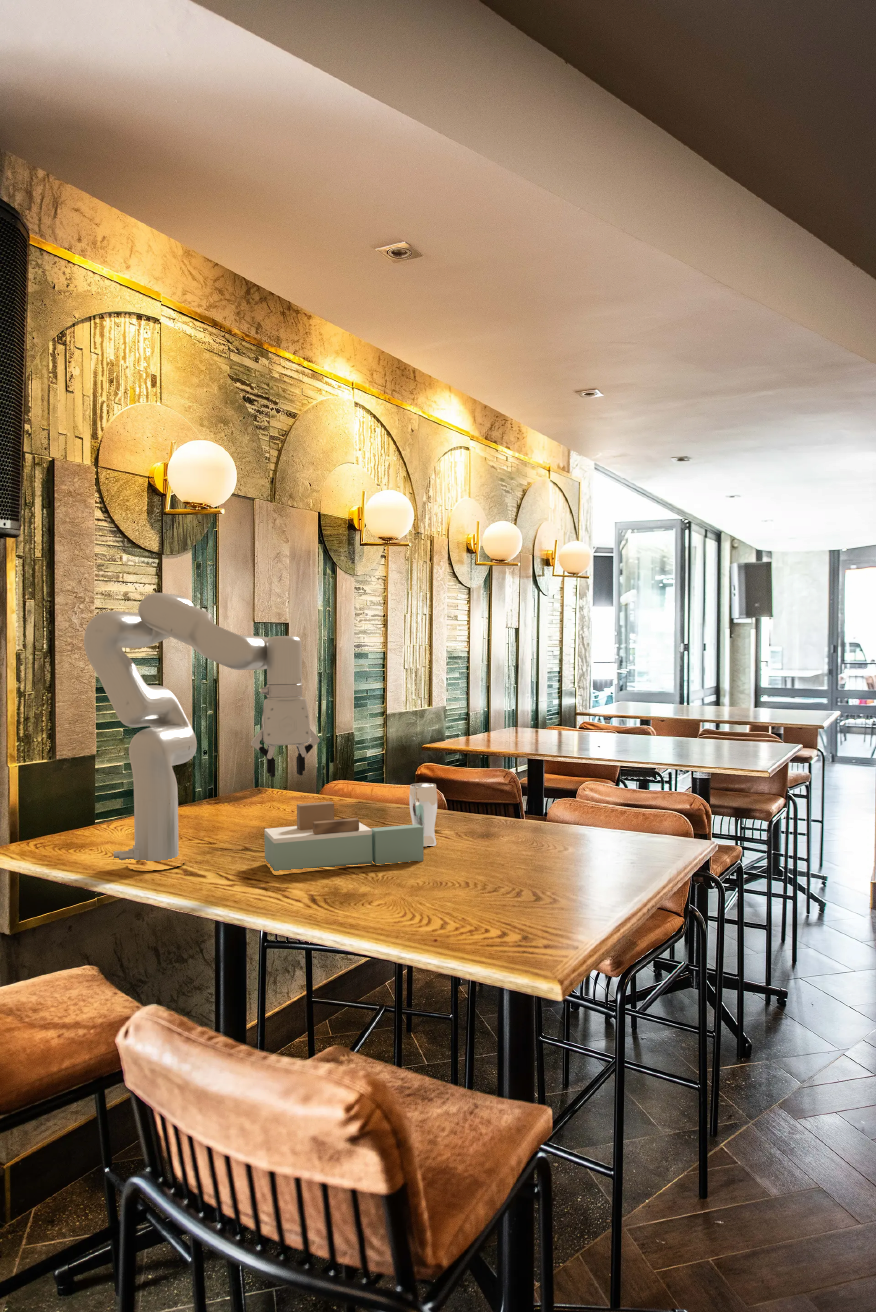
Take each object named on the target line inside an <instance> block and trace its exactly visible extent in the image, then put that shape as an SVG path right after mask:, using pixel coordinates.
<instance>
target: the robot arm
mask: <svg viewBox="0 0 876 1312" xmlns="http://www.w3.org/2000/svg"><path fill="white" fill-rule="evenodd" d="M137 609H138V610H137V611H138V612H131V611H130V612H129V611H121V610H119V611H118V610H114V611H113V610H111V611H110V610H109V611H103V612H100V613H98V614H96V615H94V616H93V617H92V619H91V620H90V621H88V623H87V625H86V627H85V632H84V635H83V647H84V651H85V655H86V658H87V659H88V662H89V664H90V665H91V667H92V668H93V670H94V672H95V674H96V675H97V677H98V679H99V680H100V682H101V685H102V687H103V689H104V691H105V693H106V696H107V698H108V700H109V702H110V703H111V705H112V708H113V710H114V712H115V714H116V717H117V718H118V719H119V721H120V722H121V723H122V725H125V726H127V727H129V728H139V727H147V726H148V727H147V728H144V729H142V730H140V731H139V732H137V733H136V734H135V735H134V736H133V737H132V739H131V741H130V743H129V745H128V755H129V756H128V757H129V762H130V765H131V766H130V767H131V772H132V779H133V781H132V782H133V807H134V808H133V812H134V815H133V817H134V821H133V823H134V844H133V845H132V848H128V850H114V851H113V859H114V858H119V860H121V861H126V859H128V860H129V859H134V860H146V861H161V860H168V859H172V858H175V857H177V856H178V855H180V853H179V799H178V798H179V797H178V796H179V794H178V793H179V791H178V790H179V789H178V783H177V778H176V777H177V776H176V774H175V772H174V768H173V766H176V765H181V764H184V763H187V762H189V761H190V760H191V759H193V757H194V756H195V754H196V752H197V747H198V744H197V743H198V741H197V736H196V734H195V732H194V730H193V726H192V725H191V723H190V721H189V719H188V717H187V714H186V713H185V711H184V710H183V709H184V708H183V707H182V705H181V704H180V702H179V700H178V698H177V696H176V694H174V693H173V692H172V690H170V689H168V688H167V687H166V686H163V685H158V684H157V685H156V684H153V685H152V684H150V685H149V684H147V683H146V682H145V680H144V679H143V677H142V675H141V673H140V671H139V669H138V667H137V666H136V663H134V661H133V660H132V659H131V658H130V657H129V656H128V655H127V654H126V653H125V651H124V650H123V649H144V648H148V647H151V646H153V645H155V644H157V643H160V642H162V641H165V640H167V639H168V638H173V639H175V640H177V641H179V642H181V643H184V644H186V645H187V646H190V647H192V649H193V650H194V651H196V652H197V653H198V654H199V655H200V656H203V657H204V658H206V659H208V660H209V661H212V662H214V663H217V664H219V665H221V666H223V667H227V668H228V669H232V670H235V671H259V670H260V671H262V670H266V682H267V683H266V686H264V687H261V688H260V694H261V695H265V696H266V697H267V698H266V699H264V701H263V707H262V713H261V714H262V716H261V729H260V730H259V731H258V732H257V733H256V735H255V736H254V737H253V738H252V739H251V740H250V745H251V746H253V747H254V748H255V749H256V750H257V751H259V753H261V754H262V755H263V756H264V757H265V758H266V774H269V777H271V778H275V777H276V759H275V758H274V754H275V750H276V747H277V746H292V745H293V746H294V745H295V747H296V749H297V755H296V758H295V759H296V774H297V775H298V776H303V775H304V773H303V772H305V771H306V757H307V755H308V754H309V753H310V752H311V750H312V749H313V748H314V747H315V746H316V745H317V744H319V743H320V741H321V740H320V738H319V737H318V735H317V734H316V733H315V732H314V731H313V730H312V729H311V723H310V713H309V706H308V701H307V698H305V697H303V652H302V651H303V649H302V648H303V645H302V640H301V639H300V637H298V636H293V635H277V636H276V635H275V636H271V637H267V636H259V635H255V636H254V635H246V634H245V635H244V634H243V635H241V634H237V633H235V632H233V631H231V630H228V629H225V628H223V627H222V626H219V625H217V624H215V623H214V619H213V615H212V614H211V613H210V612H208V611H206V610H203V609H200V608H198V607H196V606H195V605H194V603H193V602H191V600H190V599H188V598H187V597H186V596H183V595H179V594H172V593H165V592H154V593H151V594H148V595H146V596H145V597H143V598H142V599H141V601H140V602H139V605H138V608H137ZM260 742H262V743H263V744H265V745H267V747H266V748H265V747H264V746H263V745H262V744H260ZM119 860H118V861H119Z"/></svg>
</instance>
